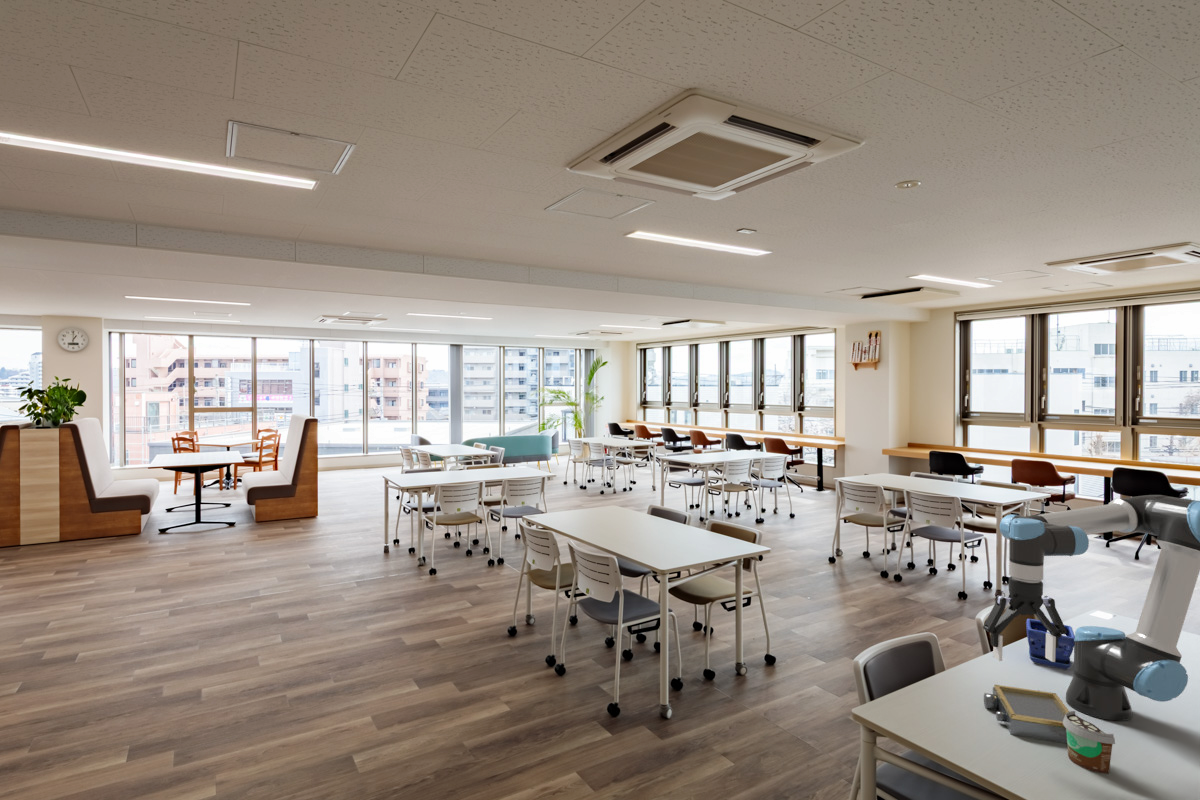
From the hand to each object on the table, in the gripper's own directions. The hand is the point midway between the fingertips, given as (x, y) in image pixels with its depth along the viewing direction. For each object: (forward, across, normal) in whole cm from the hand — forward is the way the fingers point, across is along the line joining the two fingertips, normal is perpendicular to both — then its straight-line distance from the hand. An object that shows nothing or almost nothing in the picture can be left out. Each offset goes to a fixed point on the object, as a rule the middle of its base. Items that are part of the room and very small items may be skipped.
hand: (1023, 659), depth 170 cm
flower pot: (+22, -41, -51) cm, 69 cm away
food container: (+22, -8, +10) cm, 25 cm away
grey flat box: (+21, -8, -10) cm, 25 cm away
